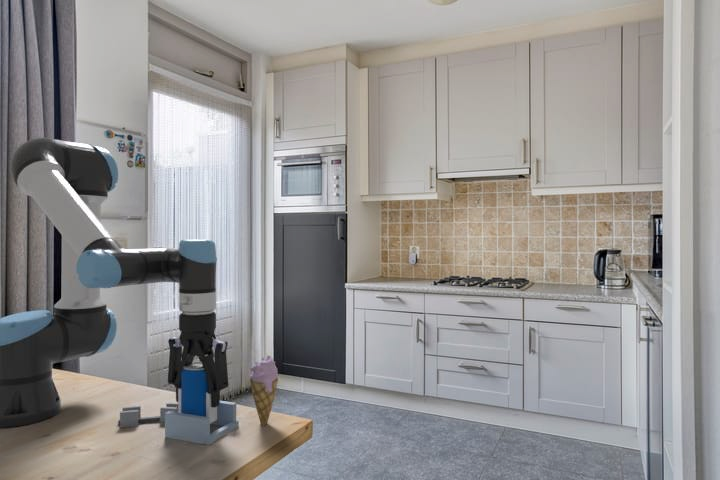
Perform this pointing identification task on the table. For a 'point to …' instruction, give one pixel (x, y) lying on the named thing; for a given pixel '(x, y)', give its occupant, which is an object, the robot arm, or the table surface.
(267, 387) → the ice cream cone
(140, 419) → the clip
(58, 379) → the table surface
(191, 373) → the beverage can
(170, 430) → the end holder
